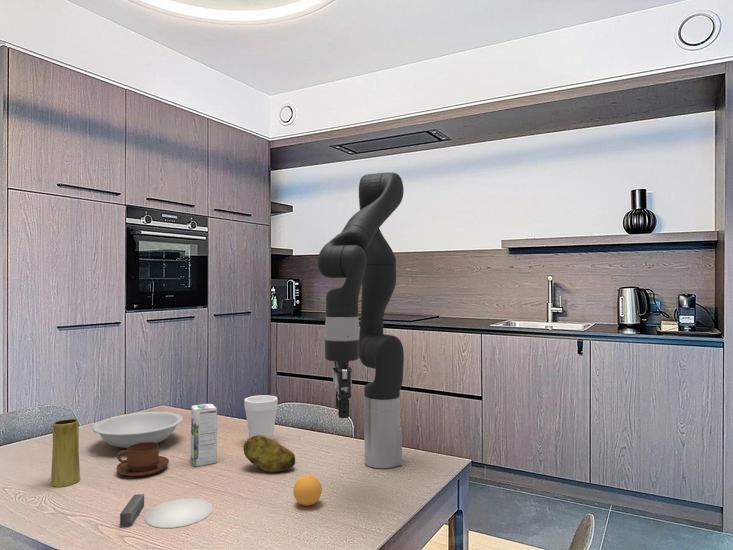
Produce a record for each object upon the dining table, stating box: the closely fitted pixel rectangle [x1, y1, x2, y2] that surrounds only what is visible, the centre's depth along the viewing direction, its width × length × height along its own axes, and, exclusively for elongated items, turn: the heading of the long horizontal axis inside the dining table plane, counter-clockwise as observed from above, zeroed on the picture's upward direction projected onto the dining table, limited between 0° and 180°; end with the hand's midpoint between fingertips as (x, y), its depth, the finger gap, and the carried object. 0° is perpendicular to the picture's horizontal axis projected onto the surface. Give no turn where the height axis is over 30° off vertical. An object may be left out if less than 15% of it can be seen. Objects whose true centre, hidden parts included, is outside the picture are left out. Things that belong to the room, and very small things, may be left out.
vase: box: [49, 418, 81, 488], centre depth 121 cm, size 6×6×14 cm
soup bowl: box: [91, 411, 184, 449], centre depth 149 cm, size 24×24×7 cm
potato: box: [242, 435, 296, 473], centre depth 129 cm, size 8×13×8 cm, turn 60°
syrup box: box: [190, 403, 218, 468], centre depth 134 cm, size 6×6×14 cm
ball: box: [292, 474, 323, 507], centre depth 108 cm, size 6×6×6 cm
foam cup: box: [244, 394, 279, 440], centre depth 149 cm, size 10×9×13 cm
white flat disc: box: [144, 498, 213, 529], centre depth 105 cm, size 13×13×1 cm
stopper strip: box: [119, 493, 145, 528], centre depth 103 cm, size 2×9×2 cm, turn 9°
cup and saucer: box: [115, 442, 170, 477], centre depth 128 cm, size 12×12×6 cm
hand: (342, 412), depth 111 cm, fingers open, 8 cm apart
